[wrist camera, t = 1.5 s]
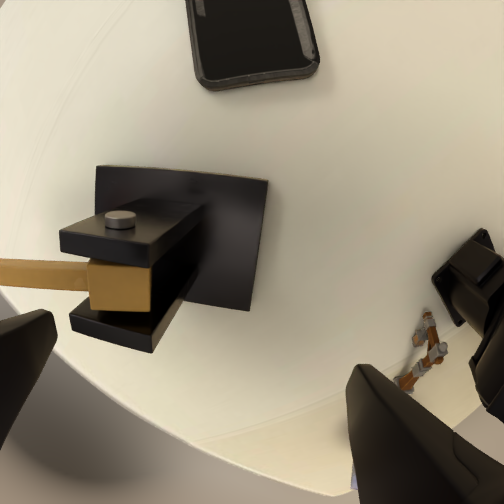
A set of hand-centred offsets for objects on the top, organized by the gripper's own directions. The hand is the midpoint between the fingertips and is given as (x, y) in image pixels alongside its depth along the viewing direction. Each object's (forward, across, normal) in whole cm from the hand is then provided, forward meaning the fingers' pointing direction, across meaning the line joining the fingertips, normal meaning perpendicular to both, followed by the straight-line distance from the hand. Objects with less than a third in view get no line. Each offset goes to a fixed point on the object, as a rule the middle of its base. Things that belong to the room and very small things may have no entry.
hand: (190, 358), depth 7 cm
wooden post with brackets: (+13, -16, +8) cm, 22 cm away
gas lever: (+5, +10, +1) cm, 11 cm away
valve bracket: (+13, +4, +1) cm, 14 cm away
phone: (+13, +2, -17) cm, 22 cm away
